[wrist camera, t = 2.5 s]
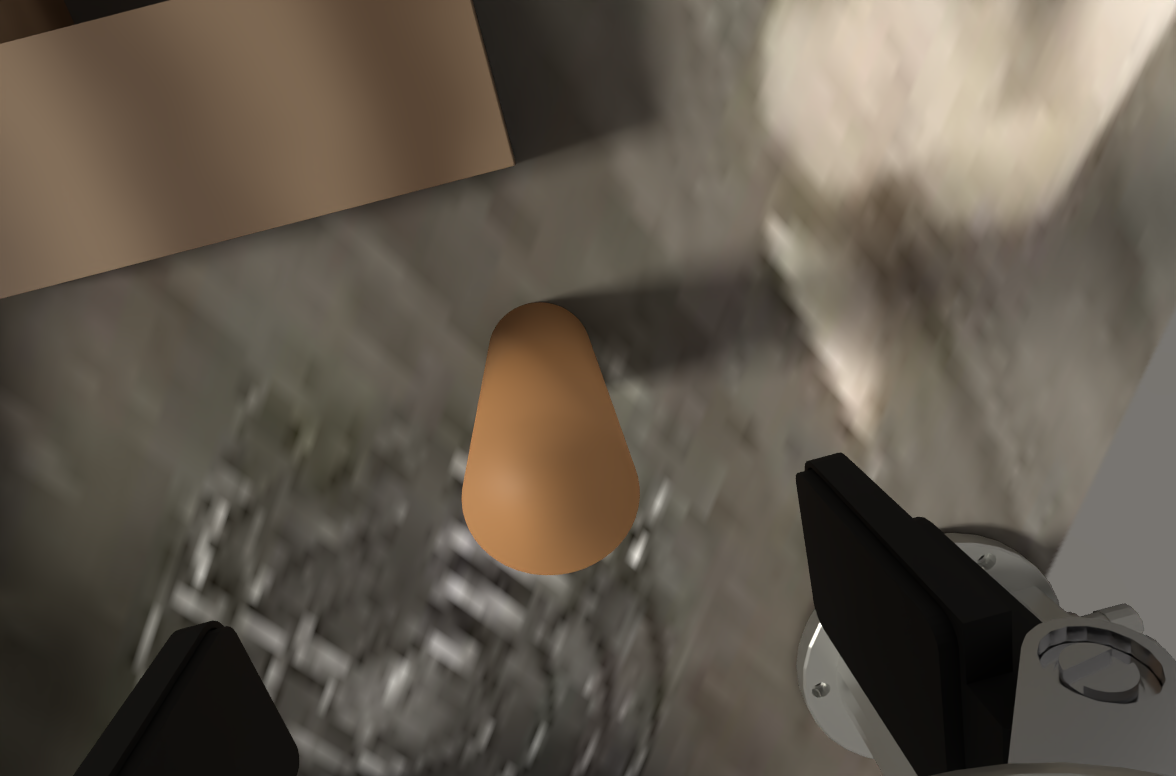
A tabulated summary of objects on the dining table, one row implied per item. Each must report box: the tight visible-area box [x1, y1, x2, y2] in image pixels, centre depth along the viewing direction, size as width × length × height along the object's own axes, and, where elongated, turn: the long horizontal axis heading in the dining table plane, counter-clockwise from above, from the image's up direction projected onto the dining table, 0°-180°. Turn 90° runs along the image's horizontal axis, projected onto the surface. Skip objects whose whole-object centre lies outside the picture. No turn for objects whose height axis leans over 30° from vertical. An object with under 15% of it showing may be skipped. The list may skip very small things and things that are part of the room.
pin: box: [462, 302, 640, 575], centre depth 21 cm, size 4×4×12 cm
